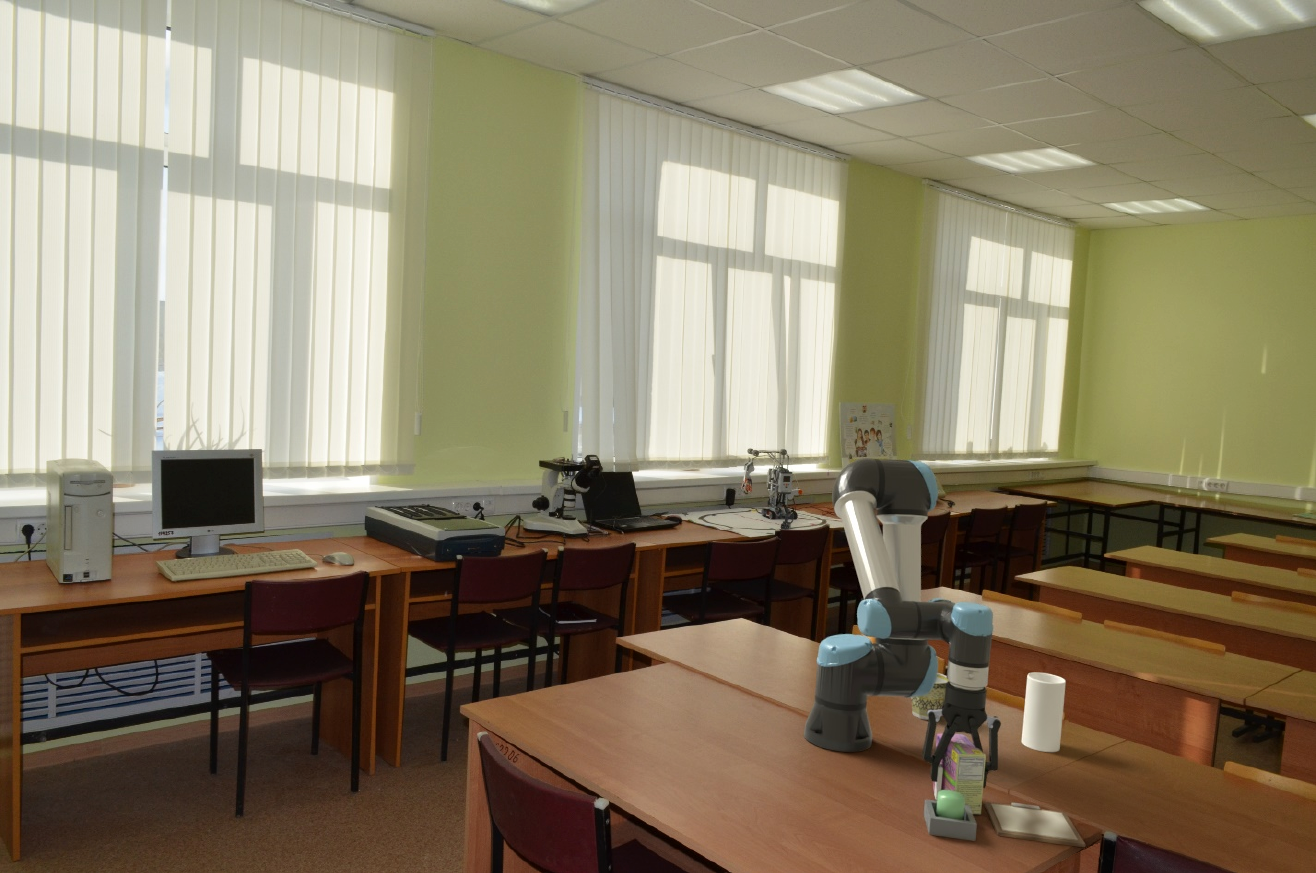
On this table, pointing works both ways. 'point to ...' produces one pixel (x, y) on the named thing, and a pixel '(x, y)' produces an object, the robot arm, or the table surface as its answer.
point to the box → (963, 770)
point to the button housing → (949, 823)
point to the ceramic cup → (930, 698)
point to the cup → (1043, 712)
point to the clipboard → (1033, 824)
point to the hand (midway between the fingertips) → (956, 800)
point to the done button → (950, 804)
